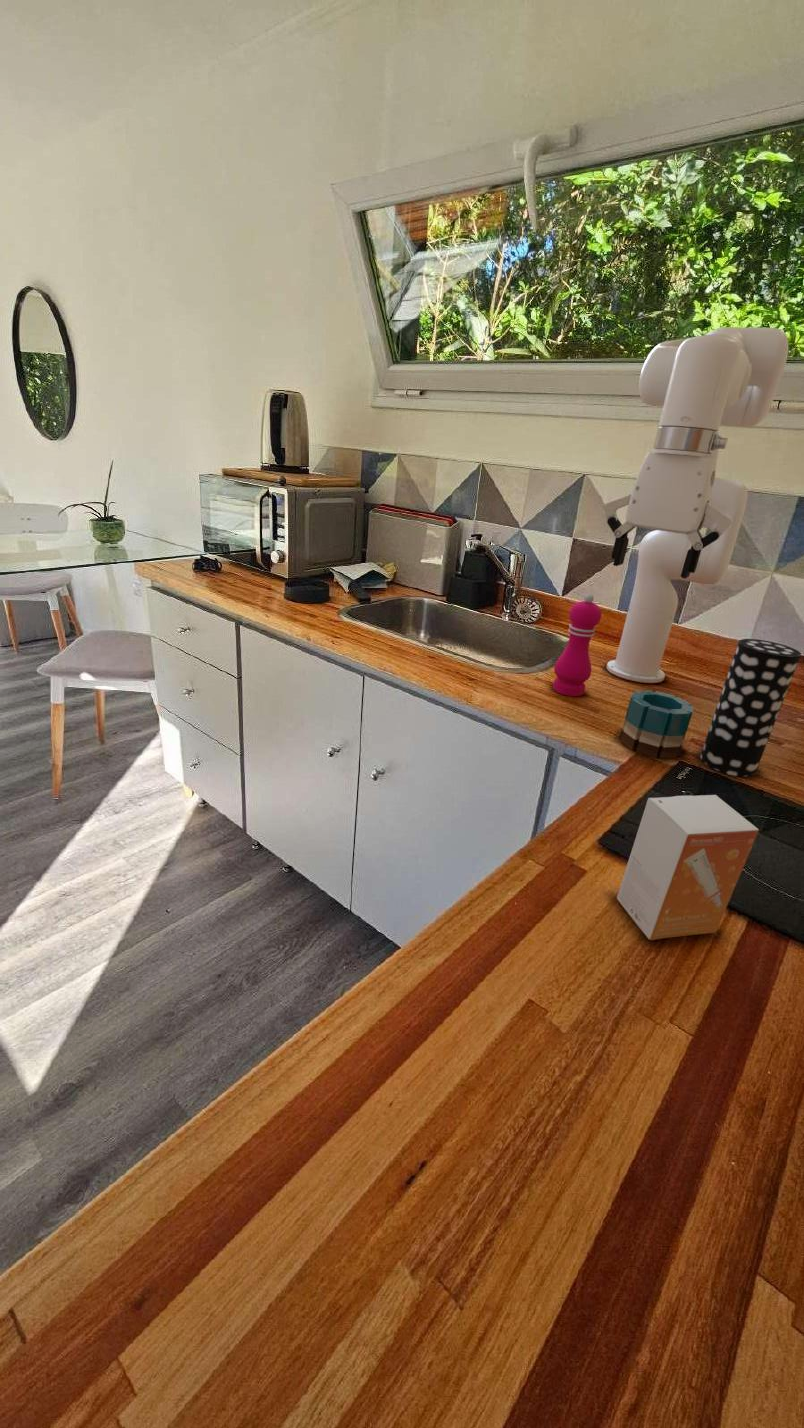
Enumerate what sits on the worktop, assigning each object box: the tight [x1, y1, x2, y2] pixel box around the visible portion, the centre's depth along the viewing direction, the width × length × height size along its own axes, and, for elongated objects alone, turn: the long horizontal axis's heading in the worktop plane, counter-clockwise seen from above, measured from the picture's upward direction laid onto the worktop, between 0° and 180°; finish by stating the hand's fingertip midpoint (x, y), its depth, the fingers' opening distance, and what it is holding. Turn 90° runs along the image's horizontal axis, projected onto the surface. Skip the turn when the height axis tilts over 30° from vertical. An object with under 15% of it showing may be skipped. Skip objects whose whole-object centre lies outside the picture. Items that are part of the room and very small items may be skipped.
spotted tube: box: [700, 638, 802, 778], centre depth 93 cm, size 8×8×20 cm
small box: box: [616, 794, 760, 941], centre depth 60 cm, size 8×6×13 cm
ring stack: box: [619, 718, 687, 759], centre depth 101 cm, size 10×10×4 cm
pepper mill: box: [552, 593, 602, 697], centre depth 118 cm, size 7×7×20 cm
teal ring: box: [624, 690, 695, 737], centre depth 99 cm, size 10×10×4 cm
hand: (650, 570), depth 88 cm, fingers open, 9 cm apart
